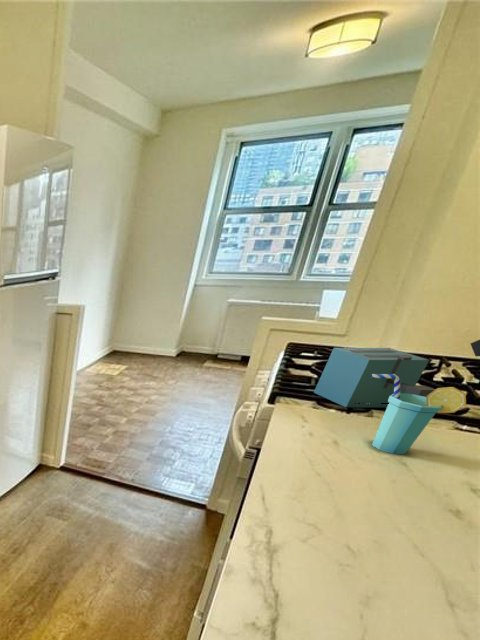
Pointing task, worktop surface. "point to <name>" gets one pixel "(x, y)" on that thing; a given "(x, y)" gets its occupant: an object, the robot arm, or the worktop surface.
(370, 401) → the toaster
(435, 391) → the cup
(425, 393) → the toaster lever
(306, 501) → the worktop surface
